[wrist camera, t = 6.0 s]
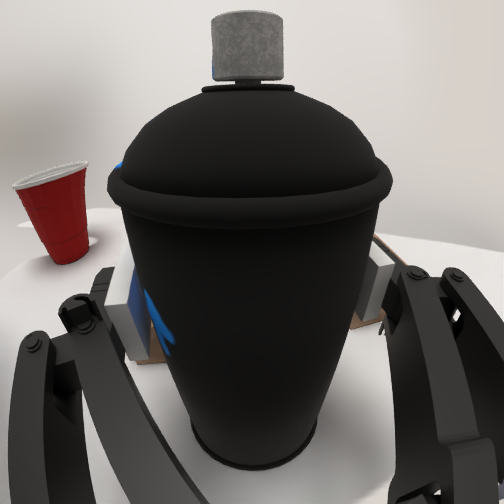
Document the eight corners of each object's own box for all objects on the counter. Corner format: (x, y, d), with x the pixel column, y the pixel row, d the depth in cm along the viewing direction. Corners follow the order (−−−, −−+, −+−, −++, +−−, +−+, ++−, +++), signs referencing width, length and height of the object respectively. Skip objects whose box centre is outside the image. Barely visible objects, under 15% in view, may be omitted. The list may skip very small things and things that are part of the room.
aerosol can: (322, 375, 19) (374, 48, 8) (306, 481, 12) (457, -17, 2) (213, 356, 21) (180, 49, 10) (172, 450, 14) (24, 42, 3)
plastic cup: (117, 230, 39) (101, 150, 32) (88, 275, 29) (59, 176, 23) (60, 235, 38) (42, 163, 32) (26, 275, 29) (-4, 191, 23)
